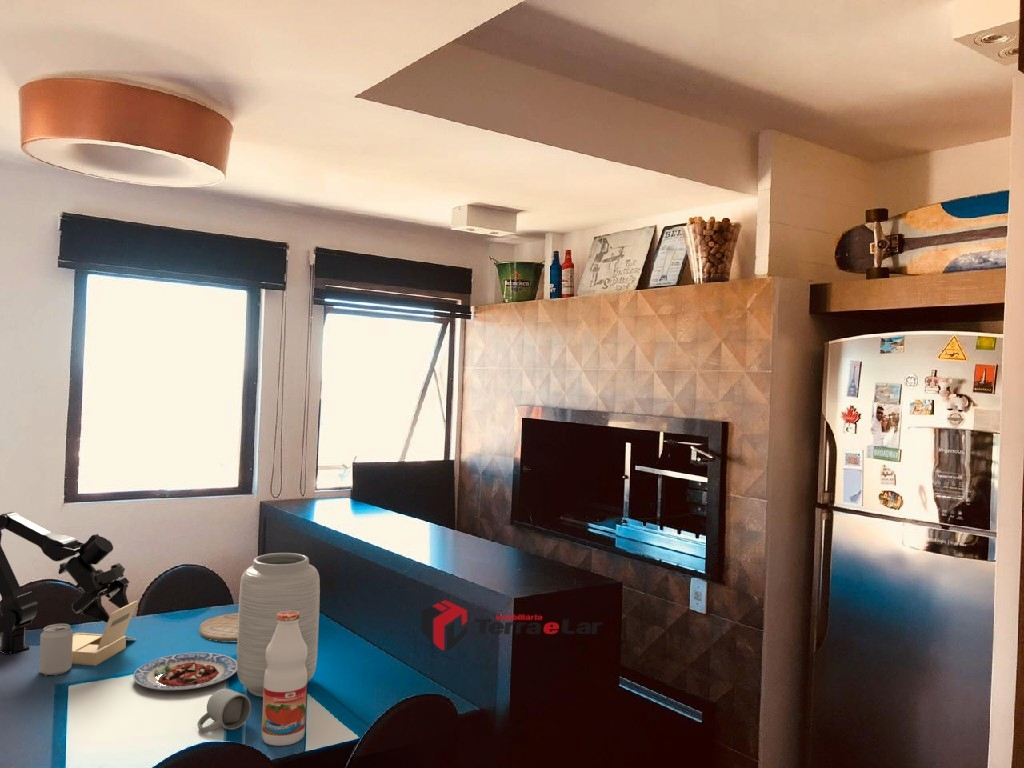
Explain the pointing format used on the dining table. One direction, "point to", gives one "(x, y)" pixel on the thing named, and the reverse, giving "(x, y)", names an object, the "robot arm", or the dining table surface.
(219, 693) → the ceramic mug
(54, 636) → the can
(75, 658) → the carton
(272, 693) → the fruit juice
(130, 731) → the dining table surface
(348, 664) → the dining table surface
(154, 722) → the dining table surface
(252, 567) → the vase
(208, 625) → the trivet
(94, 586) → the robot arm
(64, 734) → the dining table surface
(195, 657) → the ceramic plate
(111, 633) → the flap
